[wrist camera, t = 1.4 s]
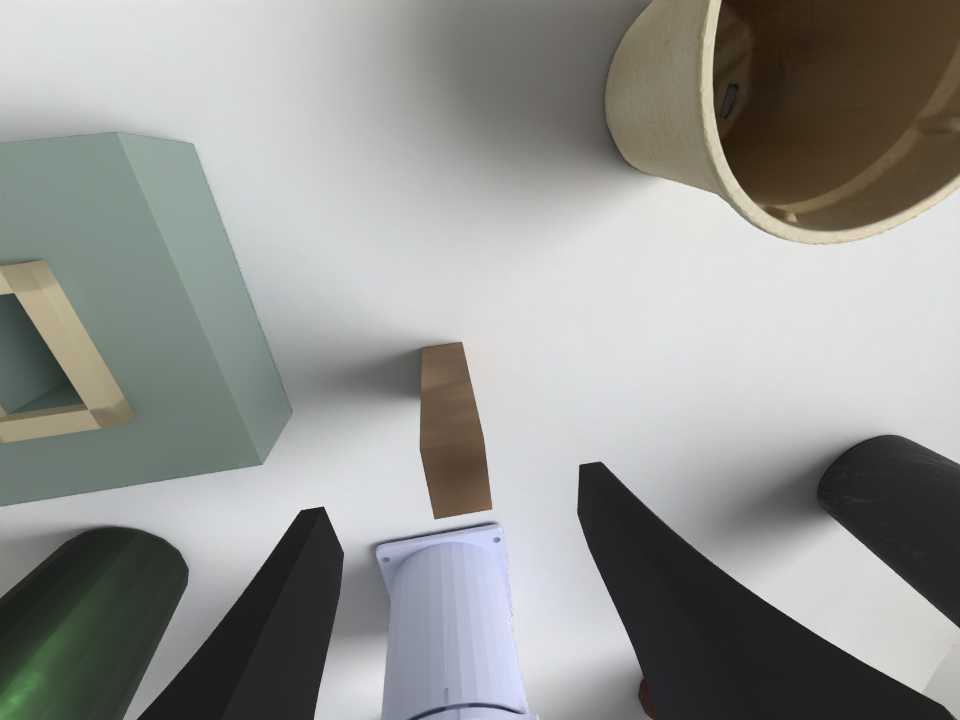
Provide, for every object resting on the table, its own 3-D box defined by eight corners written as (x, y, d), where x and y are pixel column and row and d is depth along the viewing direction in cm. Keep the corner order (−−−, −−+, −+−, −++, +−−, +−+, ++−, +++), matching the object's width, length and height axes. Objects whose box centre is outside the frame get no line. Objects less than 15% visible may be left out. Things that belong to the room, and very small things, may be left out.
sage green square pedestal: (292, 412, 20) (257, 474, 16) (40, 450, 19) (-69, 527, 15) (193, 143, 14) (100, 129, 10) (-161, 180, 14) (-416, 179, 10)
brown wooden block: (462, 342, 19) (483, 438, 12) (468, 393, 21) (492, 509, 13) (421, 347, 19) (419, 448, 12) (431, 399, 20) (434, 519, 13)
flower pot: (779, 180, 18) (1052, 180, 10) (584, 243, 18) (706, 292, 10) (794, -100, 14) (1272, -463, 6) (542, -16, 14) (690, -266, 6)
